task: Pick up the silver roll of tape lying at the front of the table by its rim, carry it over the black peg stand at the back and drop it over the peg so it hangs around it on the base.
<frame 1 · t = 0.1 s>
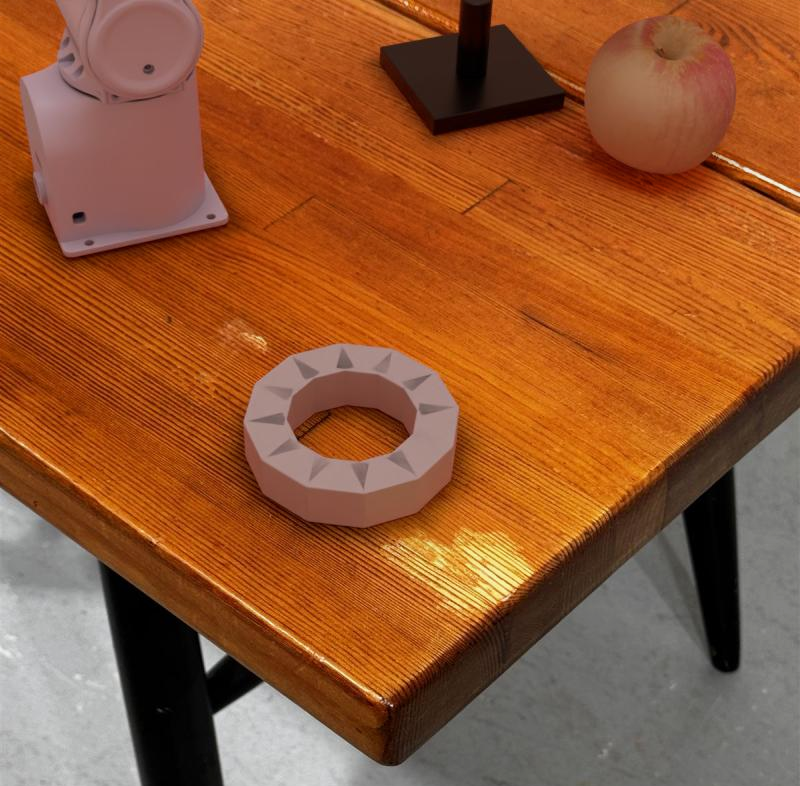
black peg stand: (470, 85, 94), on the table
apple: (648, 159, 89), on the table
tape roll: (351, 449, 71), on the table
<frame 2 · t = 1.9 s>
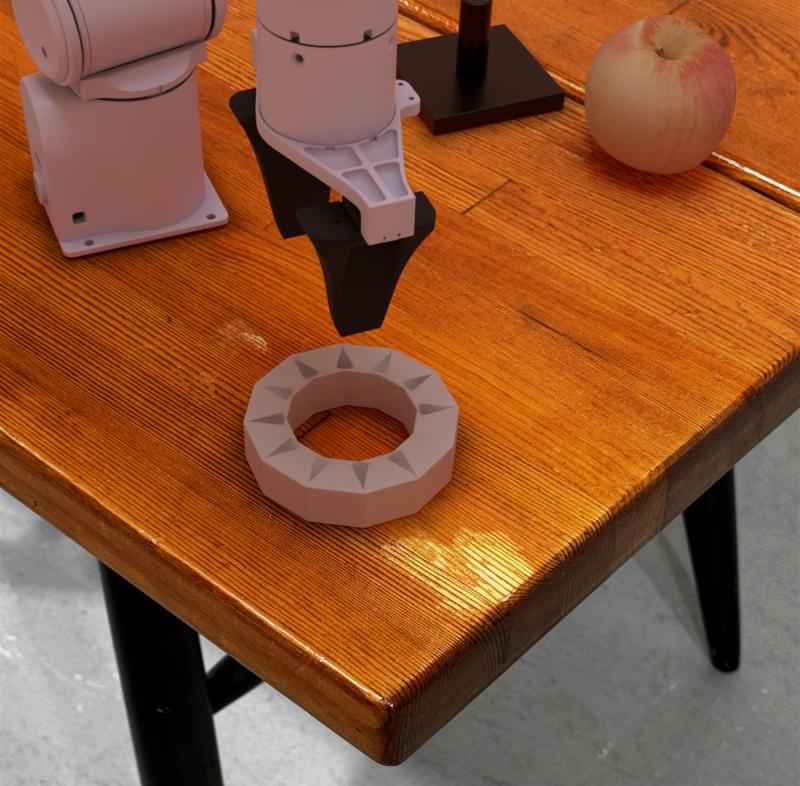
hand: (328, 278, 68), 7 cm above the table, tool pointing down, fingers open, 7 cm apart
nothing on the table moved.
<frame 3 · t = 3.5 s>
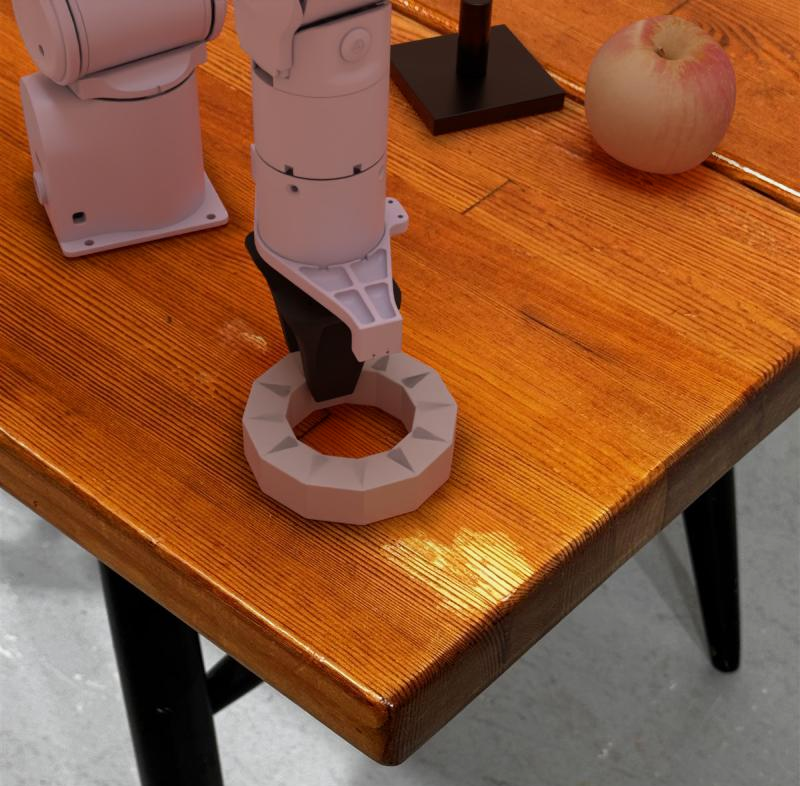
hand: (322, 375, 72), 1 cm above the table, tool pointing down, fingers closed on tape roll, 2 cm apart
tape roll: (350, 447, 71), on the table, touching gripper
everything else where it was.
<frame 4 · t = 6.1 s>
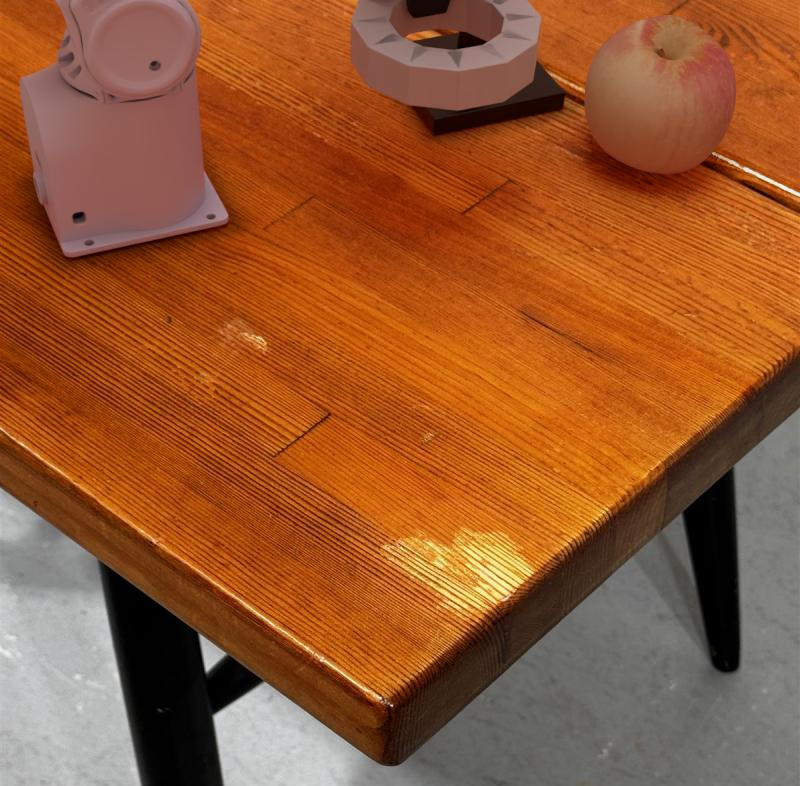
hand: (418, 1, 81), 10 cm above the table, tool pointing down, fingers closed on tape roll, 2 cm apart
tape roll: (444, 58, 80), point 9 cm above the table, touching gripper
everything else where it was.
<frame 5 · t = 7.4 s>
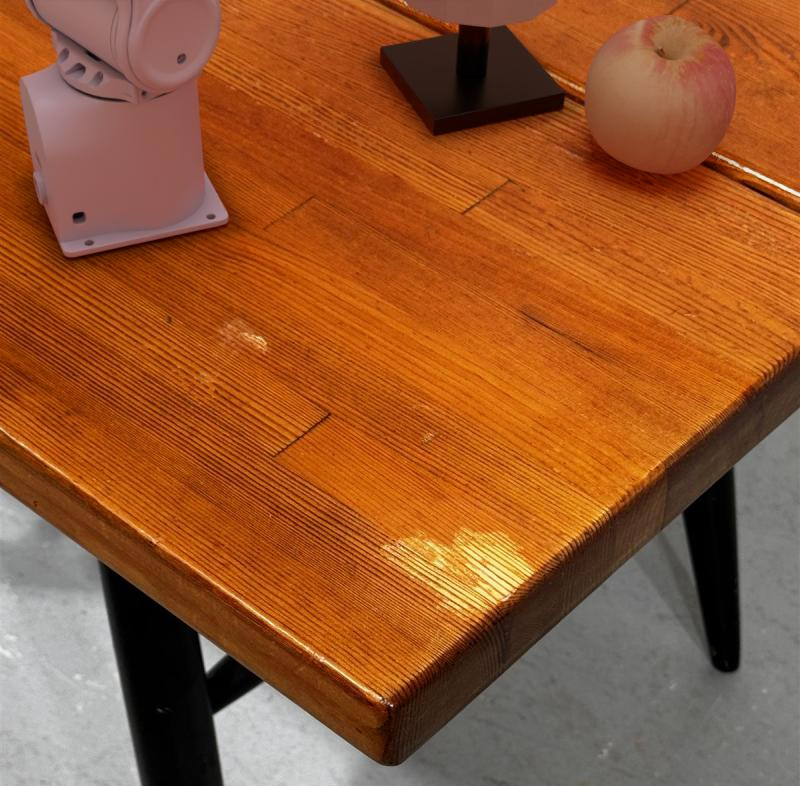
when the fingers open (5 cm above the table, at t = 8.7 s): tape roll drops 2 cm, resting on black peg stand.
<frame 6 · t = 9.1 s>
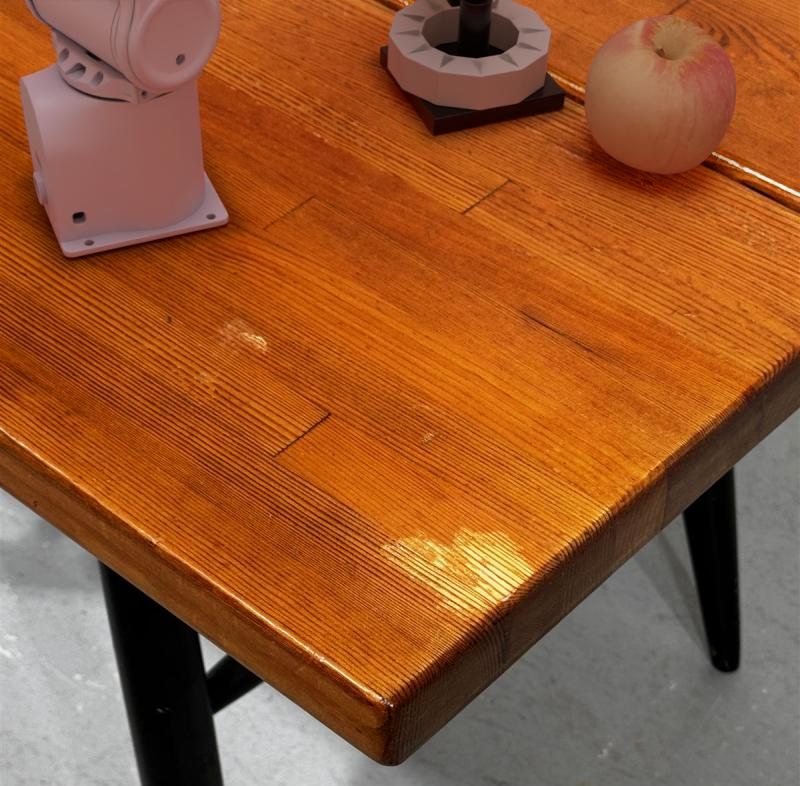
tape roll: (467, 66, 93), point 1 cm above the table, touching black peg stand
everything else where it was.
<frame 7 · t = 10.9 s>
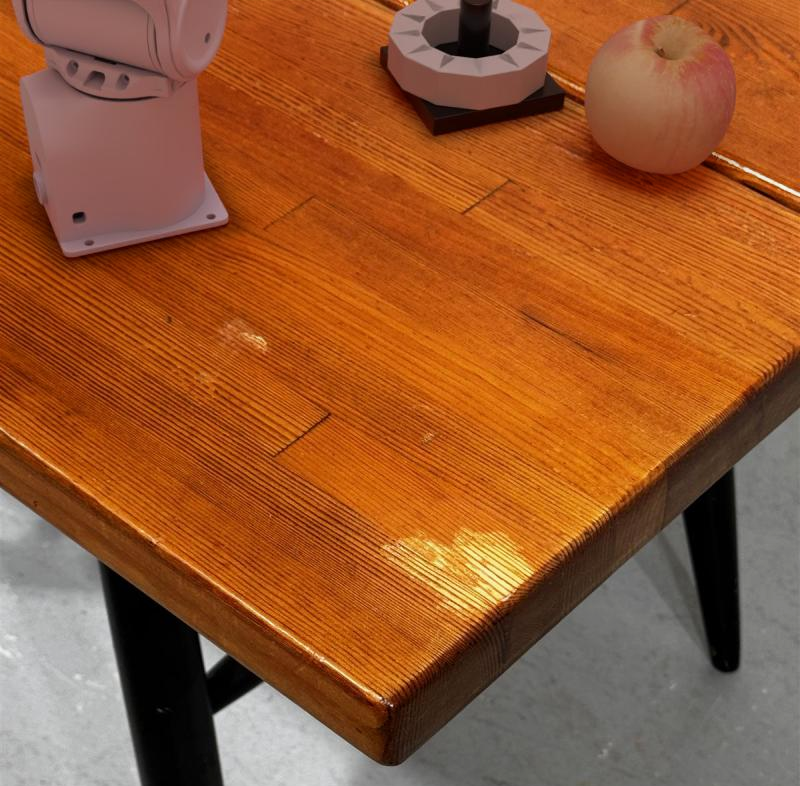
nothing on the table moved.
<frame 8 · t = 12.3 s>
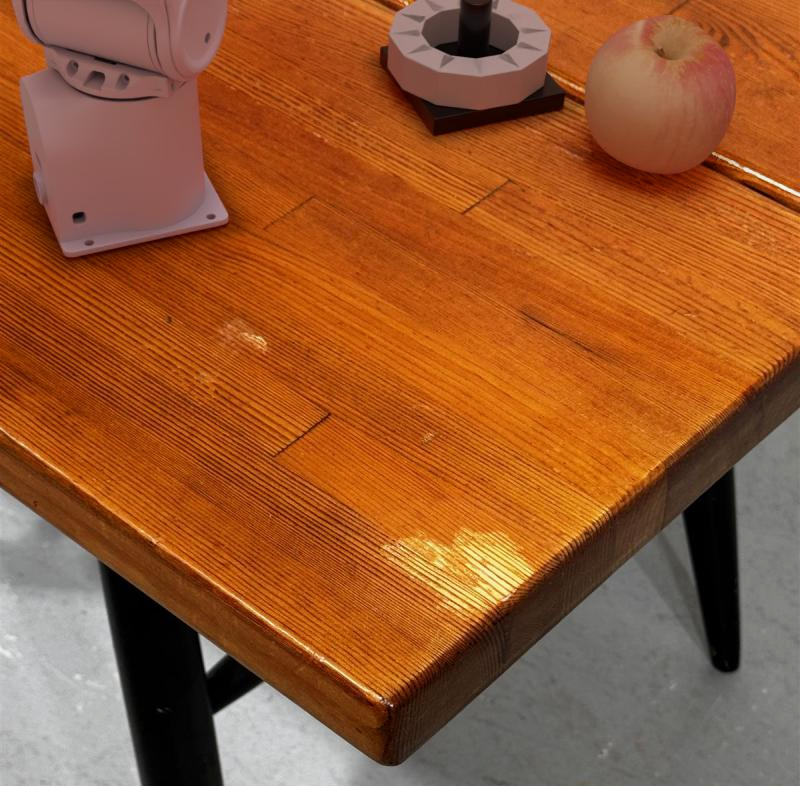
nothing on the table moved.
at the end: tape roll 0.4 cm from the black peg stand (horizontally); tape roll point 1.2 cm above the table; the gripper is holding nothing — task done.
